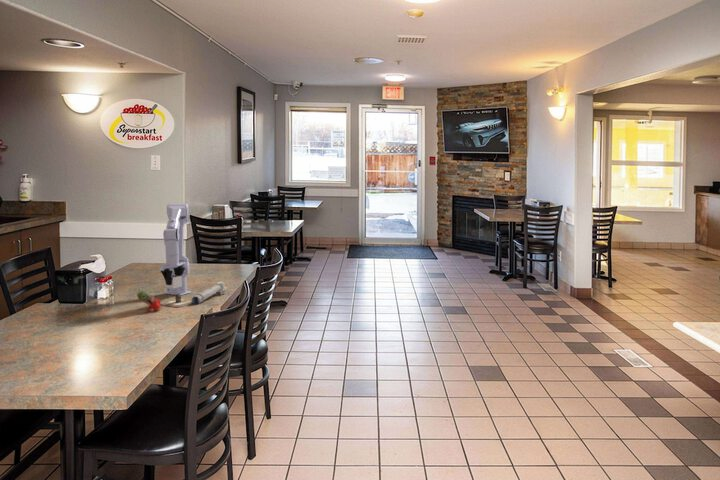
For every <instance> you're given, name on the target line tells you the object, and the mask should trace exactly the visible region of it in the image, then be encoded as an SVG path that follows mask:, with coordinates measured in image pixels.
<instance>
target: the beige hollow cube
mask: <svg viewBox="0 0 720 480" xmlns="http://www.w3.org/2000/svg"><path fill="white" fill-rule="evenodd" d="M163 280H164V288H166V289H167V288H173V289H174V288H178V287H182V276H179V275H171V285H166V281H165V279H163Z"/></svg>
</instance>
